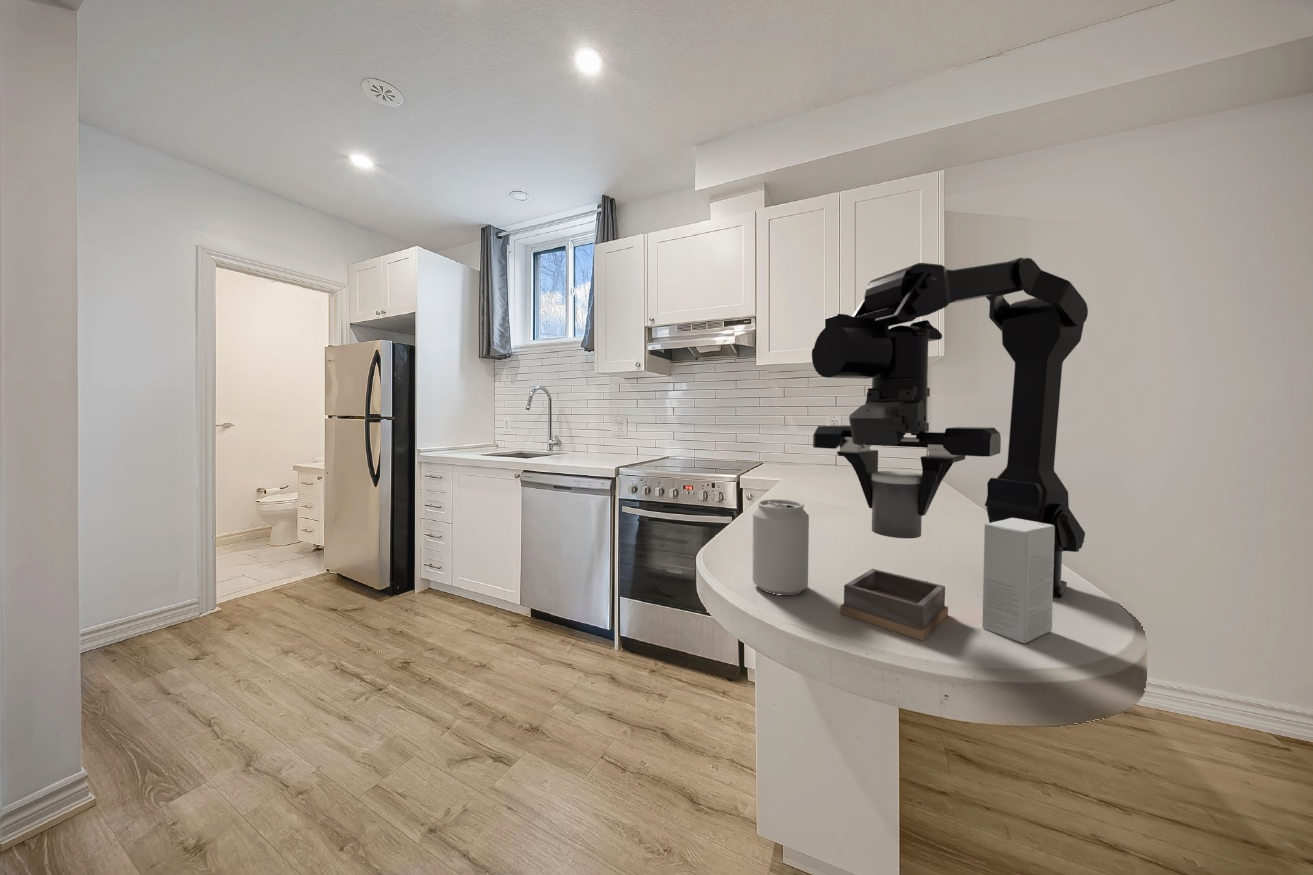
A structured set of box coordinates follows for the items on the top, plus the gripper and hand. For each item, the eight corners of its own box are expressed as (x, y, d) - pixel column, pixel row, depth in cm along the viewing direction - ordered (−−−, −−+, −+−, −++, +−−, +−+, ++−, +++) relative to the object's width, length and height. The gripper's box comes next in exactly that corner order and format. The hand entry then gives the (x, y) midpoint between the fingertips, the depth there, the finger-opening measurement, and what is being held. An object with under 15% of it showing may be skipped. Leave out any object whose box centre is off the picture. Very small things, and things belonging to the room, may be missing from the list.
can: (811, 600, 58) (812, 508, 57) (752, 596, 59) (753, 506, 59) (804, 579, 65) (805, 498, 65) (752, 576, 67) (752, 496, 66)
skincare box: (1008, 616, 53) (1011, 516, 52) (1052, 632, 49) (1057, 524, 49) (979, 628, 50) (982, 522, 50) (1024, 645, 46) (1028, 531, 46)
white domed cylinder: (881, 524, 57) (882, 469, 57) (928, 532, 53) (930, 473, 53) (863, 532, 53) (864, 474, 53) (913, 541, 49) (914, 478, 49)
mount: (870, 593, 60) (871, 567, 60) (947, 614, 54) (948, 586, 53) (840, 613, 54) (840, 585, 54) (923, 641, 47) (924, 608, 47)
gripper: (790, 381, 54) (789, 509, 55) (978, 369, 40) (973, 541, 41) (833, 384, 61) (832, 497, 62) (1004, 375, 48) (999, 520, 48)
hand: (896, 511), depth 53 cm, fingers closed on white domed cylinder, 5 cm apart
